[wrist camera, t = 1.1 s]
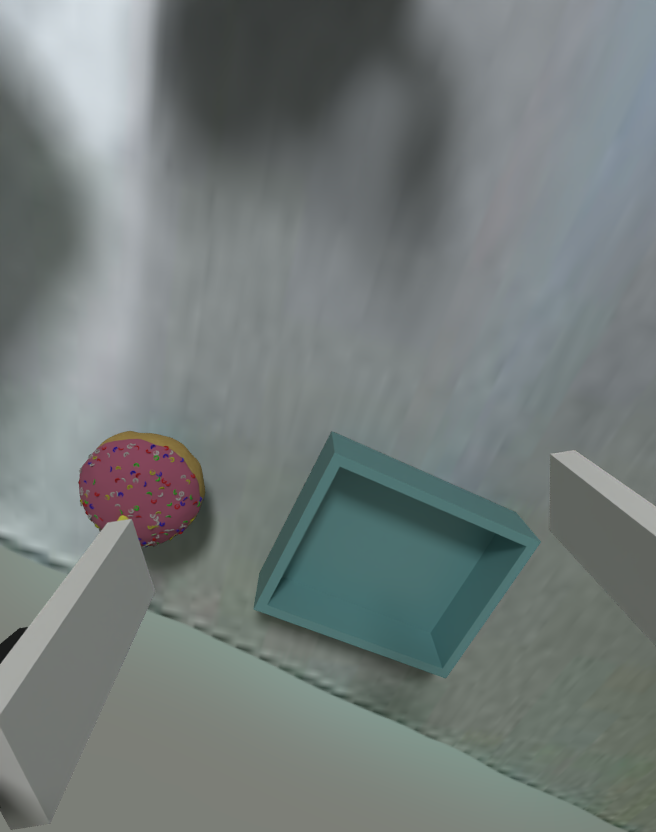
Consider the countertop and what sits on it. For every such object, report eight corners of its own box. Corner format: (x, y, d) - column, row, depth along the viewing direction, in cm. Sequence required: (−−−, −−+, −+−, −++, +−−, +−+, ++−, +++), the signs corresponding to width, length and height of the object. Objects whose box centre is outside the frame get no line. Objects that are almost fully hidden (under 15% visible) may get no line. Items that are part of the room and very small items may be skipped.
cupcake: (192, 526, 39) (144, 633, 27) (93, 488, 37) (-2, 584, 26) (231, 439, 37) (195, 516, 25) (127, 395, 35) (39, 456, 24)
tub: (259, 573, 41) (253, 609, 36) (331, 431, 37) (334, 452, 32) (432, 638, 43) (445, 678, 39) (515, 512, 40) (540, 542, 35)
